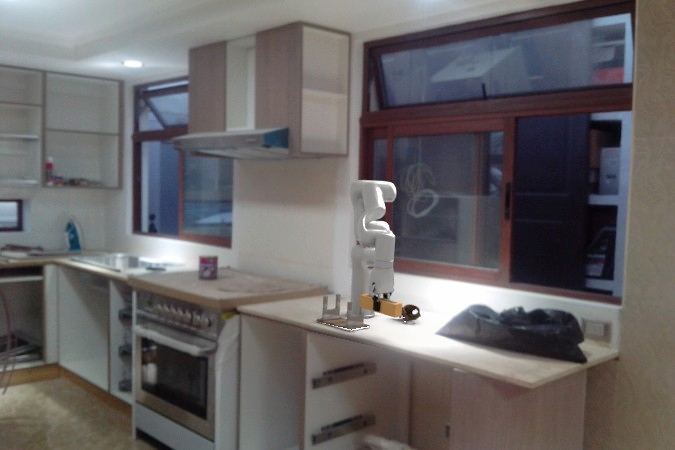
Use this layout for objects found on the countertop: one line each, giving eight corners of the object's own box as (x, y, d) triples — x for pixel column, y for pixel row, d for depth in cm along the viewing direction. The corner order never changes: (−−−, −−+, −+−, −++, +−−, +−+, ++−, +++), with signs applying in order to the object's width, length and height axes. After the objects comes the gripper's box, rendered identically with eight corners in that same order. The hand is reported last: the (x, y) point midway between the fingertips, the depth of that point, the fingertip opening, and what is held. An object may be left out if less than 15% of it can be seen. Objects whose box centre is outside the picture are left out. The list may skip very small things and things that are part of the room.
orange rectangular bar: (359, 307, 255) (360, 294, 255) (366, 305, 258) (367, 293, 257) (394, 317, 243) (395, 304, 242) (401, 316, 246) (402, 303, 245)
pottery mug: (421, 320, 282) (424, 307, 277) (413, 333, 275) (416, 319, 270) (396, 310, 286) (399, 296, 281) (388, 323, 279) (390, 309, 274)
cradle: (316, 321, 268) (317, 295, 267) (334, 318, 275) (336, 292, 274) (350, 331, 253) (352, 304, 253) (369, 328, 261) (370, 301, 260)
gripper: (390, 260, 257) (387, 305, 259) (361, 264, 245) (358, 311, 247) (404, 264, 251) (401, 309, 254) (376, 268, 239) (373, 315, 242)
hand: (380, 309), depth 250 cm, fingers closed on orange rectangular bar, 4 cm apart
